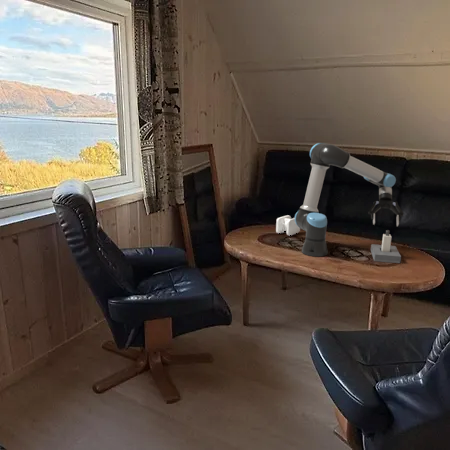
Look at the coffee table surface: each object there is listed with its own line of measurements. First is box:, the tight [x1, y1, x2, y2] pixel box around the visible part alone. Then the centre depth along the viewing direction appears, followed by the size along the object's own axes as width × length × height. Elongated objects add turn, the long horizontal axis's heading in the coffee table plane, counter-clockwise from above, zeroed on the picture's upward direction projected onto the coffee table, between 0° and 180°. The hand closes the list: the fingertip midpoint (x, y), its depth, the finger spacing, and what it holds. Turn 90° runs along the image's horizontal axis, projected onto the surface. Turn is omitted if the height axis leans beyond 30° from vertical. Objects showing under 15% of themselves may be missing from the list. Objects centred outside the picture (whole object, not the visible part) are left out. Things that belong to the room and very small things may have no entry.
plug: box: [381, 229, 392, 252], centre depth 246 cm, size 4×5×15 cm
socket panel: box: [370, 243, 402, 264], centre depth 247 cm, size 14×20×4 cm
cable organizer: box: [275, 214, 301, 237], centre depth 291 cm, size 15×11×12 cm
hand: (385, 224), depth 253 cm, fingers open, 13 cm apart
